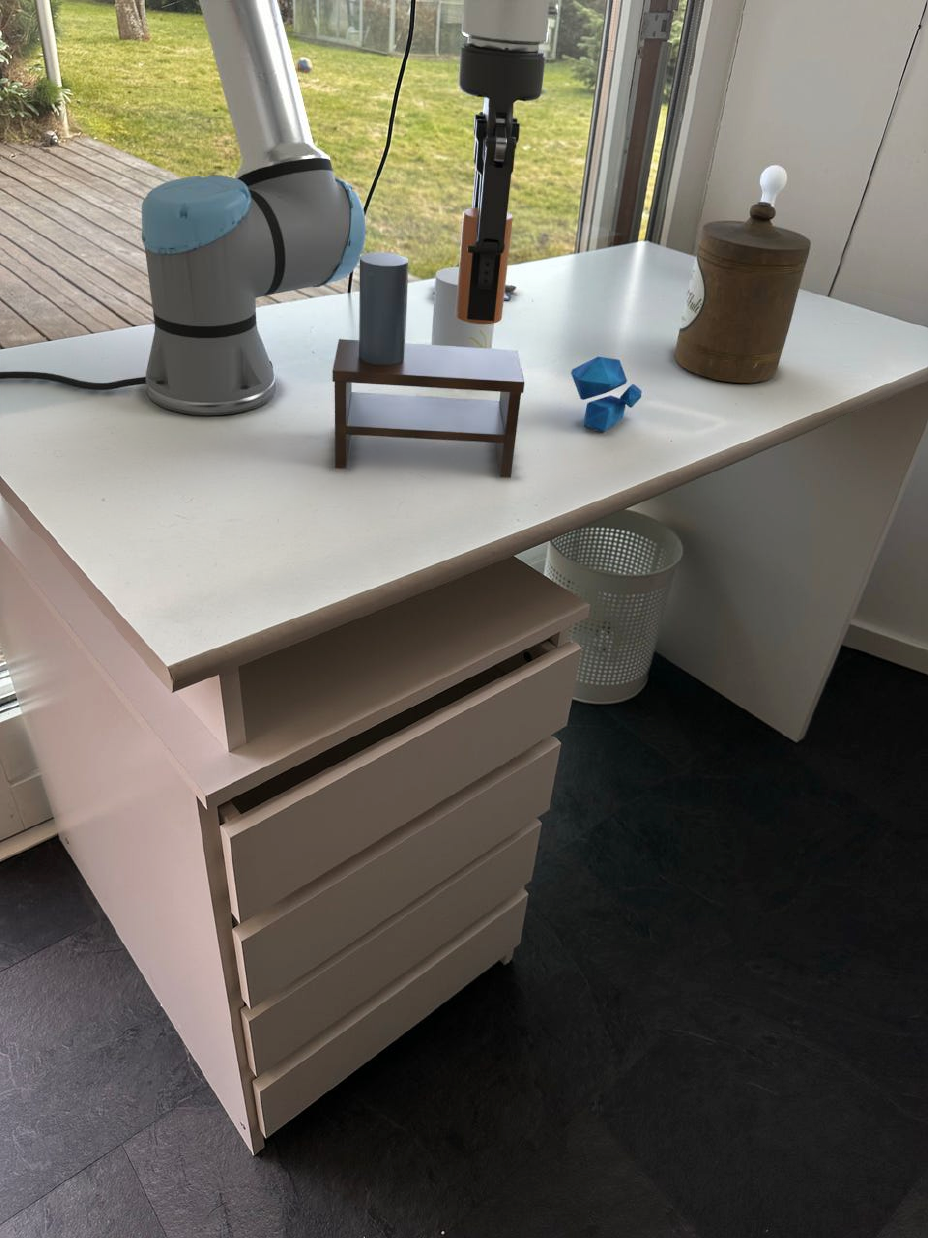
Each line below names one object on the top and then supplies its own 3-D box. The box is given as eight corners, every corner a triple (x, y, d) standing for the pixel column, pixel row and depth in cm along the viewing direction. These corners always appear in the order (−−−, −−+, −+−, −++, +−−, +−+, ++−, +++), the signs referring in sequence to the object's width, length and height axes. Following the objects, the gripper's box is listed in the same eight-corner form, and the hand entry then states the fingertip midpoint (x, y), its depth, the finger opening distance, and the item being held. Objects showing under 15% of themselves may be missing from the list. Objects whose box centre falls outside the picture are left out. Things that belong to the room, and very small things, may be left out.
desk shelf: (333, 467, 99) (332, 370, 93) (339, 431, 106) (338, 338, 100) (512, 477, 101) (524, 382, 94) (506, 441, 108) (517, 350, 101)
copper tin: (455, 322, 93) (464, 217, 87) (454, 306, 96) (462, 205, 90) (503, 326, 93) (514, 221, 87) (500, 310, 97) (510, 209, 91)
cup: (483, 381, 122) (492, 289, 115) (424, 372, 123) (429, 280, 116) (494, 359, 128) (503, 272, 121) (437, 351, 129) (443, 263, 122)
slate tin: (357, 363, 95) (358, 264, 89) (360, 347, 98) (361, 250, 92) (404, 366, 95) (408, 267, 89) (404, 349, 99) (408, 253, 93)
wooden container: (693, 338, 142) (728, 184, 129) (787, 362, 137) (834, 205, 124) (658, 365, 132) (692, 201, 119) (759, 393, 126) (807, 224, 113)
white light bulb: (778, 291, 166) (812, 171, 154) (755, 297, 162) (787, 174, 150) (728, 274, 172) (757, 157, 161) (704, 280, 168) (731, 160, 156)
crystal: (662, 364, 113) (621, 368, 103) (641, 432, 117) (600, 442, 107) (609, 348, 116) (564, 350, 107) (590, 414, 120) (546, 422, 110)
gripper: (558, 60, 73) (522, 343, 87) (536, 37, 88) (508, 284, 102) (465, 51, 73) (444, 338, 87) (458, 29, 87) (441, 279, 101)
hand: (479, 309), depth 94 cm, fingers closed on copper tin, 5 cm apart
